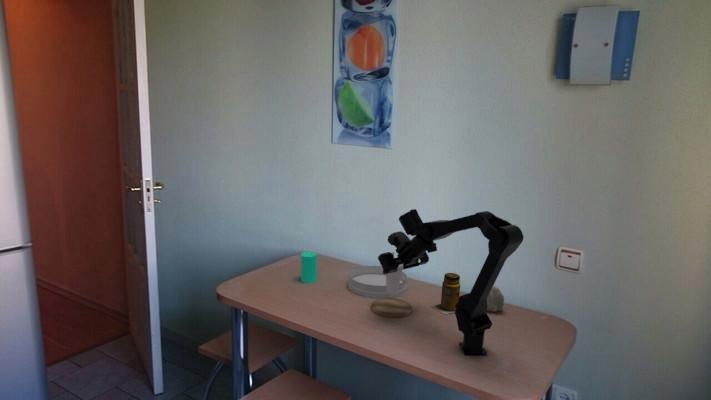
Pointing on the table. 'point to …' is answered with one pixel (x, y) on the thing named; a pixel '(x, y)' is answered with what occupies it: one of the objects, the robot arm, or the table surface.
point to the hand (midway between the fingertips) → (390, 271)
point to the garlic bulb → (495, 300)
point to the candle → (308, 267)
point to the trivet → (391, 307)
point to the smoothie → (393, 280)
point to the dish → (373, 282)
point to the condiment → (449, 293)
